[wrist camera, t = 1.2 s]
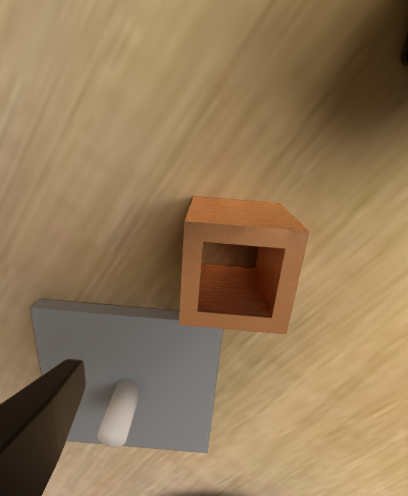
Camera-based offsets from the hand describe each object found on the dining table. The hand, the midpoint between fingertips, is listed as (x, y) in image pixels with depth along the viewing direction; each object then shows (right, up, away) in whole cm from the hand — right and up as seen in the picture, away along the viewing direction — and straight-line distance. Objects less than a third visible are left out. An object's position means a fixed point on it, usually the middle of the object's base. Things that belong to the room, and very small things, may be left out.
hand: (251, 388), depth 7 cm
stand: (-7, -7, +16) cm, 19 cm away
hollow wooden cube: (+1, +4, +12) cm, 12 cm away
